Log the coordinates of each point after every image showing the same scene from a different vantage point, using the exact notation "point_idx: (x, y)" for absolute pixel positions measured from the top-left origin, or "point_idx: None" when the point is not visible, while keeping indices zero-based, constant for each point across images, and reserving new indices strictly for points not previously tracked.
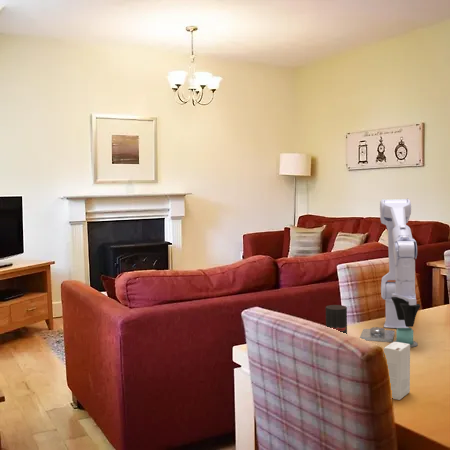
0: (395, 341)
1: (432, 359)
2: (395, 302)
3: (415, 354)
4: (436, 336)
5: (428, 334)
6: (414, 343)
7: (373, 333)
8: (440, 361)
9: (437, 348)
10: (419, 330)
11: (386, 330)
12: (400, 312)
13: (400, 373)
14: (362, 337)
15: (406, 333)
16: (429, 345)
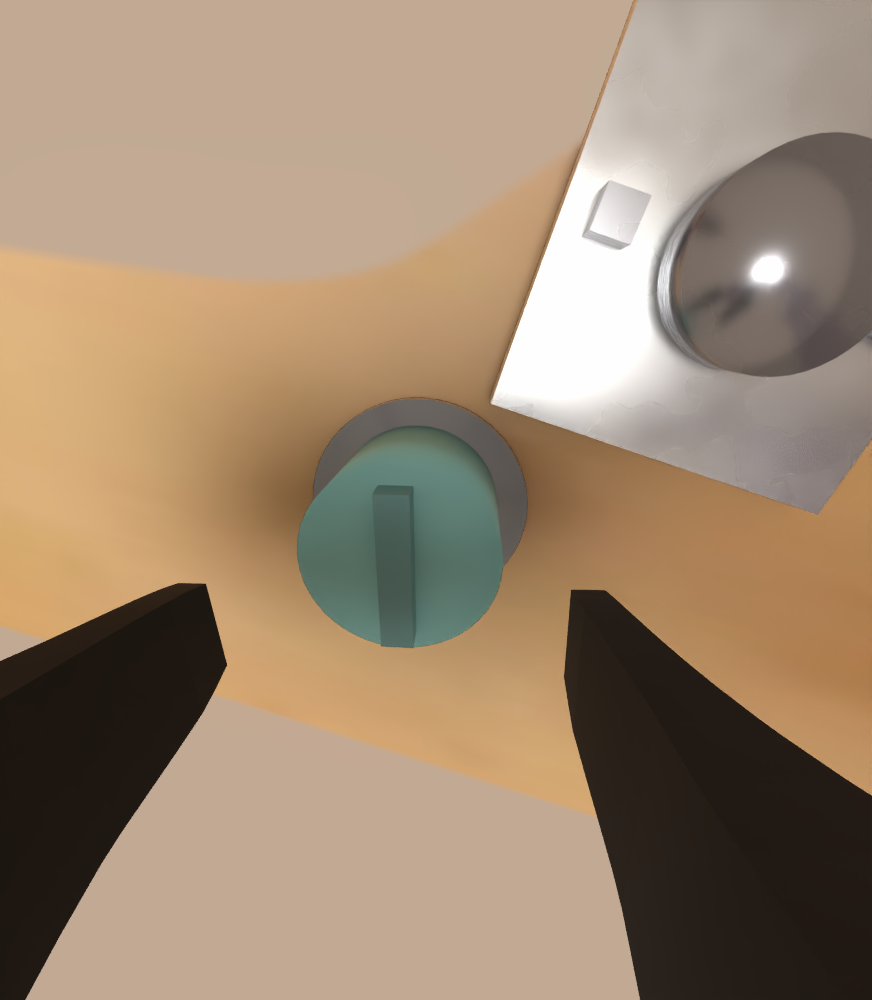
0: (467, 426)
1: (47, 575)
2: (811, 994)
3: (137, 497)
4: None
5: None
6: None
7: (712, 189)
8: (19, 607)
9: (308, 683)
10: (817, 726)
11: (859, 427)
12: (608, 723)
13: None
14: None
15: (303, 546)
16: (380, 660)
